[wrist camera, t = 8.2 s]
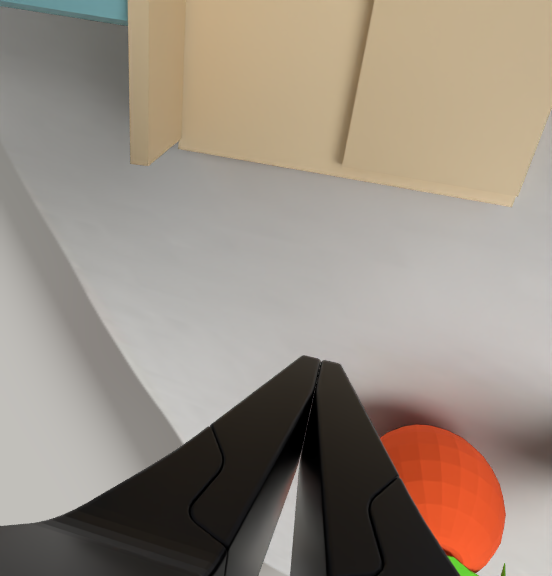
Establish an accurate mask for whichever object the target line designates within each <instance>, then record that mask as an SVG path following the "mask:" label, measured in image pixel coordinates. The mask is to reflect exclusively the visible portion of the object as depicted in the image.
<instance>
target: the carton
mask: <svg viewBox="0 0 552 576" xmlns="http://www.w3.org/2000/svg"><path fill="white" fill-rule="evenodd" d="M551 109H552V0H186V16H185V46H184V75H183V105H182V135H181V139H180V140H179V144H178V149H182V150H187V151H193V152H199V153H205V154H210V155H216V156H222V157H228V158H233V159H239V160H245V161H250V162H256V163H262V164H268V165H273V166H279V167H285V168H291V169H296V170H302V171H308V172H314V173H319V174H325V175H331V176H336V177H342V178H348V179H354V180H359V181H365V182H371V183H377V184H382V185H388V186H394V187H399V188H405V189H411V190H417V191H422V192H428V193H434V194H440V195H445V196H451V197H457V198H462V199H468V200H474V201H480V202H485V203H491V204H497V205H503V206H508V207H512V205H513V203H514V200H515V197H516V196H517V197H518V195H519V192H520V189H521V187H522V184H523V182H524V179H525V176H526V174H527V171H528V169H529V166H530V163H531V161H532V158H533V156H534V153H535V150H536V148H537V145H538V143H539V140H540V137H541V135H542V132H543V130H544V127H545V124H546V122H547V119H548V116H549V114H550V111H551Z"/></svg>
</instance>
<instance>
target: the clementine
mask: <svg viewBox="0 0 552 576" xmlns="http://www.w3.org/2000/svg"><path fill="white" fill-rule="evenodd" d="M380 439H381V441H382V443H383V445H384V447H385V449H386V451H387V453H388V455H389V457H390V458H391V460H392V462H393V464H394V466H395V468H396V470H397V472H398V474H399V476H400V477H399V478H401V479H402V481H403V483H404V485H405V487H406V488H407V490H408V492H409V494H410V496H411V498H412V499H413V501H414V503H415V505H416V506H417V508H418V510H419V512H420V514H421V515H422V517H423V519H424V521H425V522H426V524H427V525H428V527H429V528H430V530H431V532H432V533H433V535H434V536H435V538H436V539H437V541H438V542H439V544H440V546H441V547H442V549H443V550H444V552H445V553H446V555H447V556H448V558H449V559H450V561H451V562H452V564H453V565H454V567H455V568H456V570H457V571H458V573H459V574H460V576H479V575H477V574H475V573H477V572H478V571H479V570H480V569H482V568H483V567H484V566H485V565H486V564H487V563H488V562H489V560H490V559H491V558H492V556H493V555H494V553H495V552H496V550H497V548H498V547H499V545H500V543H501V539H502V534H503V530H504V523H505V516H506V513H505V507H504V500H503V495H502V491H501V488H500V484H499V482H498V480H497V478H496V476H495V474H494V472H493V470H492V468H491V467H490V465H489V464H488V463H487V461H486V460H485V458H484V457H483V456H482V455H481V454H480V453H479V452H478V451H477V450H476V449H475V448H474V447H473V446H472V445H471V444H469V443H468V442H467V441H466V440H465V439H463V438H462V437H460V436H458V435H456V434H454V433H452V432H450V431H448V430H445V429H442V428H438V427H434V426H430V425H417V424H416V425H409V426H403V427H401V428H398V429H395V430H393V431H390V432H388V433H386V434H385V435H383V436H382V437H381V438H380ZM501 576H505V563H504V566H503V570H502V573H501Z"/></svg>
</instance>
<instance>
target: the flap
mask: <svg viewBox="0 0 552 576" xmlns="http://www.w3.org/2000/svg"><path fill="white" fill-rule="evenodd" d="M0 6H4V7H10V8H16V9H23V10H29V11H35V12H42V13H48V14H54V15H61V16H67V17H73V18H80V19H86V20H92V21H99V22H105V23H112V24H118V25H124V26H128V49H129V110H130V164H136V165H144V166H149V165H150V164H151V163H153V162H154V161H155V160H156V159H157V158H159V157H160V156H161V155H162V154H163V153H165V152H166V151H167V150H168V149H169V148H171V147H172V146H173V145H174V144H175V143H177V142H178V141H179V140H180V139H181V135H182V105H183V75H184V46H185V16H186V0H0Z"/></svg>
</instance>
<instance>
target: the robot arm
mask: <svg viewBox="0 0 552 576" xmlns="http://www.w3.org/2000/svg"><path fill="white" fill-rule="evenodd" d="M320 364H321V365H320ZM319 368H320V369H319ZM318 373H319V374H318ZM317 378H318V379H317ZM316 382H317V383H316ZM315 387H316V388H315ZM314 391H315V393H314ZM313 396H314V397H313ZM312 401H313V402H312ZM311 405H312V406H311ZM310 410H311V411H310ZM309 415H310V416H309ZM308 419H309V420H308ZM307 424H308V425H307ZM306 428H307V430H306ZM305 433H306V434H305ZM304 438H305V439H304ZM303 442H304V443H303ZM302 447H303V448H302ZM301 451H302V453H301ZM300 455H301V459H300ZM299 459H300V466H299V475H298V487H297V499H296V511H295V523H294V535H293V547H292V560H291V572H290V576H460V574H459V573H458V571H457V570H456V568H455V567H454V565H453V564H452V562H451V561H450V559H449V558H448V556H447V555H446V553H445V552H444V550H443V549H442V547H441V546H440V544H439V542H438V541H437V539H436V538H435V536H434V535H433V533H432V532H431V530H430V528H429V527H428V525H427V524H426V522H425V521H424V519H423V517H422V515H421V514H420V512H419V510H418V508H417V506H416V505H415V503H414V501H413V499H412V498H411V496H410V494H409V492H408V490H407V488H406V487H405V485H404V483H403V481H402V479H401V478H399V477H400V476H399V474H398V472H397V470H396V468H395V466H394V464H393V462H392V460H391V458H390V457H389V455H388V453H387V451H386V449H385V447H384V445H383V443H382V441H381V439H380V438H379V436H378V434H377V432H376V430H375V428H374V426H373V424H372V422H371V421H370V419H369V417H368V415H367V413H366V411H365V409H364V407H363V405H362V404H361V402H360V400H359V398H358V396H357V394H356V392H355V390H354V388H353V387H352V385H351V383H350V381H349V379H348V377H347V375H346V373H345V371H344V370H343V368H342V366H341V365H340V364H339V363H335V362H331V361H326V360H323V361H322V362H321V361H320V360H319V359H318V358H314V357H309V356H305V355H303V356H301V357H299V358H298V359H297V360H296V361H294V362H293V363H292V364H290V365H289V366H288V367H286V368H285V369H284V370H282V371H281V372H280V373H278V374H277V375H276V376H274V377H273V378H272V379H270V380H269V381H268V382H266V383H265V384H264V385H263V386H261V387H260V388H259V389H257V390H256V391H255V392H253V393H252V394H251V395H249V396H248V397H247V398H245V399H244V400H243V401H241V402H240V403H239V404H237V405H236V406H235V407H233V408H232V409H231V410H230V411H228V412H227V413H226V414H224V415H223V416H222V417H220V418H219V419H218V420H216V421H215V422H214V423H212V424H211V425H210V427H207V428H205V429H204V430H203V431H201V432H200V433H199V434H198V435H196V436H195V437H193V438H192V439H191V440H189V441H188V442H186V443H185V444H184V445H182V446H181V447H179V448H178V449H176V450H175V451H173V452H172V453H170V454H169V455H167V456H165V457H164V458H162V459H161V460H159V461H157V462H156V463H154V464H153V465H151V466H149V467H147V468H146V469H144V470H142V471H141V472H139V473H138V474H135V475H134V476H132V477H131V478H129V479H127V480H125V481H124V482H122V483H120V484H118V485H117V486H115V487H113V488H112V489H110V490H108V491H106V492H105V493H103V494H101V495H100V496H98V497H96V498H94V499H93V500H91V501H89V502H88V503H86V504H84V505H82V506H80V507H78V508H77V509H75V510H73V511H70V512H68V513H66V514H64V515H61V516H58V517H56V518H53V519H50V520H46V521H41V522H37V523H30V524H18V525H8V526H0V576H258V575H259V572H260V569H261V567H262V564H263V561H264V558H265V555H266V553H267V550H268V547H269V544H270V542H271V539H272V536H273V533H274V530H275V528H276V525H277V522H278V519H279V517H280V514H281V511H282V508H283V505H284V503H285V500H286V497H287V494H288V492H289V489H290V486H291V483H292V480H293V478H294V475H295V472H296V469H297V466H298V463H299Z"/></svg>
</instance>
